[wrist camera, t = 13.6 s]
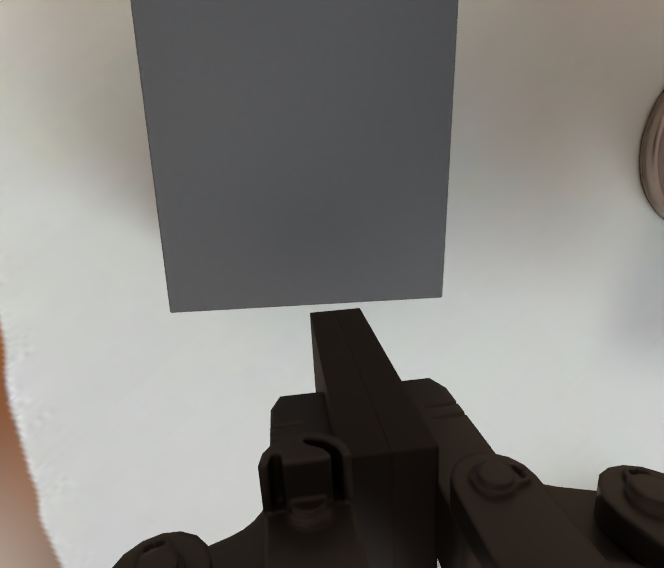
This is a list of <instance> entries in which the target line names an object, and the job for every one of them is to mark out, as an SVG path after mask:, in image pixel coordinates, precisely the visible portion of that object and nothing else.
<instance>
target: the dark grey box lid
mask: <svg viewBox="0 0 664 568" xmlns="http://www.w3.org/2000/svg"><path fill="white" fill-rule="evenodd" d="M130 1H131V8H132V16H133V24H134V32H135V40H136V48H137V55H138V63H139V71H140V79H141V87H142V94H143V102H144V110H145V118H146V126H147V134H148V141H149V149H150V157H151V165H152V173H153V181H154V188H155V196H156V204H157V212H158V220H159V228H160V235H161V243H162V251H163V259H164V267H165V274H166V282H167V290H168V298H169V306H170V312H171V313H175V312H192V311H210V310H228V309H245V308H263V307H280V306H298V305H315V304H333V303H351V302H368V301H386V300H403V299H421V298H439V297H442V288H443V270H444V252H445V234H446V215H447V197H448V179H449V161H450V143H451V125H452V107H453V88H454V70H455V52H456V34H457V16H458V0H130Z"/></svg>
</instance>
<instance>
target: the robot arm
mask: <svg viewBox="0 0 664 568" xmlns="http://www.w3.org/2000/svg"><path fill="white" fill-rule="evenodd" d="M640 171H641V179H642V183H643V187H644V190H645V193H646V196H647V198H648V200H649V202H650V204H651V205H652V207H653V208H654V210H655V211H656V212H657V213H658V214H659V215H660V216H661V217H662V218H663V219H664V91H663V93H662V94H661V96H660V97H659V99H658V101H657V103H656V104H655V106H654V108H653V110H652V112H651V115H650V117H649V120H648V122H647V125H646V128H645V132H644V136H643V140H642V146H641V154H640ZM310 320H311V333H312V347H313V360H314V374H315V387H316V393H308V394H299V395H290V396H282V397H280V398H279V399H278V401H277V402H276V404H275V405H274V406H273V408H272V409H271V428H270V447H269V448H268V449H267V450H266V451H265V452H264V453H263V454H262V456H261V459H260V462H259V465H258V471H259V479H260V487H261V495H262V503H263V511H262V512H261V513H260V515H259V516H258V517H257V518H256V519H255V521H254V522H252V523H251V524H250V525H249V526H247V527H246V528H245V529H244V530H242V531H240V532H238V533H236V534H235V535H233V536H231V537H229V538H226V539H224V540H222V541H219V542H217V543H215V544H212V545H210V546H208V545H207V544H206V543H205V542H203V541H202V540H201V539H200V538H199V537H198V536H197V535H193V534H189V533H185V532H181V531H180V532H171V533H162V534H160V535H157V536H155V537H152V538H150V539H147V540H145V541H142V542H141V543H140V544H138V545H137V546H135V547H134V548H132V549H131V550H130V551H128V552H127V553H125V554H124V555H123V556H122V557H121V558H120V560H119V561H118V562H117V563H116V564H115V565H114V566H113V568H437V558H438V561H439V563H440V566H441V568H664V474H663V473H660V472H657V471H654V470H650V469H647V468H644V467H637V466H627V465H621V466H615V467H610V468H607V469H606V470H605V471H603V472H602V473H601V474H600V475H599V480H598V487H597V491H591V490H582V489H573V488H563V487H555V486H550V485H545V484H543V483H542V482H541V481H540V480H539V479H538V477H537V476H536V475H535V474H534V473H533V472H531V471H530V470H529V469H528V468H527V467H526V466H525V465H523V464H521V463H519V462H517V461H515V460H513V459H511V458H509V457H506V456H502V455H498V454H495V452H494V451H493V450H492V448H491V447H490V446H489V444H488V443H487V442H486V440H485V439H484V438H483V436H482V435H481V434H480V432H479V431H478V430H477V428H476V427H475V426H474V424H473V423H472V422H471V420H470V419H469V418H468V416H467V415H465V414H464V411H463V410H462V409H461V407H460V406H459V405H458V404H456V401H455V399H454V398H453V397H452V395H451V394H450V393H449V391H448V390H447V389H446V388H445V387H443V386H442V385H440V384H438V383H437V382H435V381H433V380H432V379H430V378H425V379H417V380H408V381H401V379H400V378H399V376H398V374H397V372H396V371H395V369H394V367H393V365H392V364H391V362H390V360H389V358H388V357H387V355H386V353H385V351H384V350H383V348H382V346H381V345H380V343H379V341H378V339H377V338H376V336H375V334H374V332H373V331H372V329H371V327H370V325H369V324H368V322H367V320H366V318H365V317H364V315H363V313H362V311H361V310H360V308H356V309H345V310H335V311H324V312H314V313H310Z"/></svg>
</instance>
